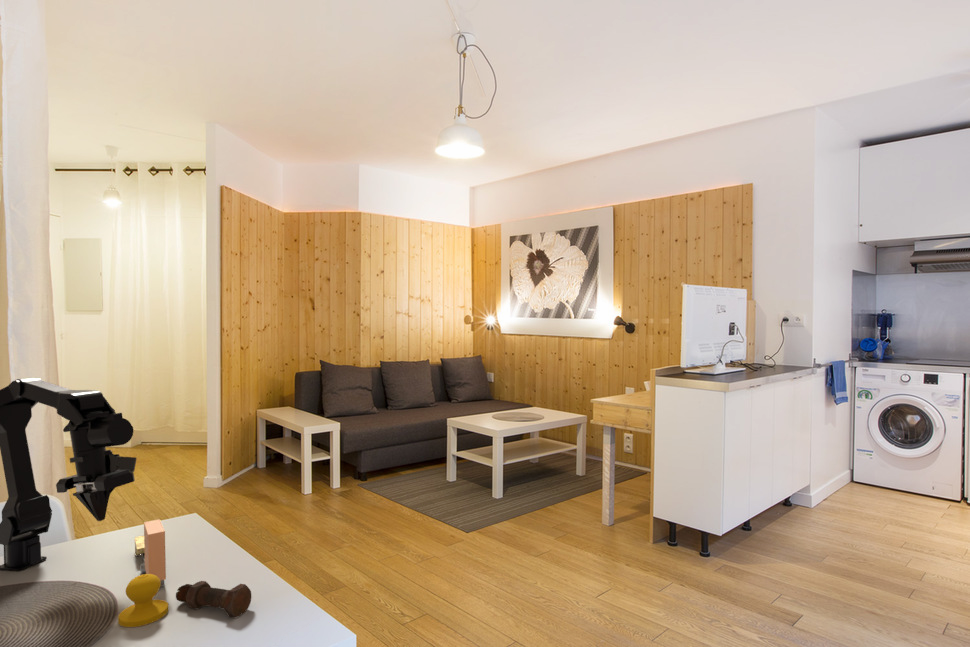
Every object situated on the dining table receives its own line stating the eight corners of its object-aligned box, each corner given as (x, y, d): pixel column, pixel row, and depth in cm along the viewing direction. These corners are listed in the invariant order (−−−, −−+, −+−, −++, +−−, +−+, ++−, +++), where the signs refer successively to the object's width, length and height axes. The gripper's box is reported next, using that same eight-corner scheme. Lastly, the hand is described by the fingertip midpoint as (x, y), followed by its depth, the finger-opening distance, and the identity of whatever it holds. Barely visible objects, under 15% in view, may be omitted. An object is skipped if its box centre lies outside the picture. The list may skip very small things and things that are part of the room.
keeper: (162, 559, 128) (162, 543, 128) (137, 564, 126) (136, 549, 126) (159, 547, 136) (158, 532, 136) (134, 552, 133) (134, 537, 133)
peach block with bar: (145, 590, 112) (144, 535, 112) (136, 554, 130) (135, 507, 130) (169, 584, 115) (168, 530, 115) (157, 550, 133) (157, 503, 132)
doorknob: (175, 603, 108) (157, 625, 100) (131, 607, 107) (109, 629, 99) (174, 565, 108) (156, 584, 100) (130, 568, 107) (108, 588, 99)
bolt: (185, 609, 109) (245, 619, 104) (165, 608, 105) (226, 618, 100) (196, 577, 112) (255, 585, 107) (177, 574, 108) (237, 583, 103)
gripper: (152, 436, 123) (164, 506, 123) (103, 442, 131) (113, 507, 131) (99, 450, 113) (112, 525, 113) (49, 455, 121) (61, 526, 121)
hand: (101, 520), depth 119 cm, fingers closed
